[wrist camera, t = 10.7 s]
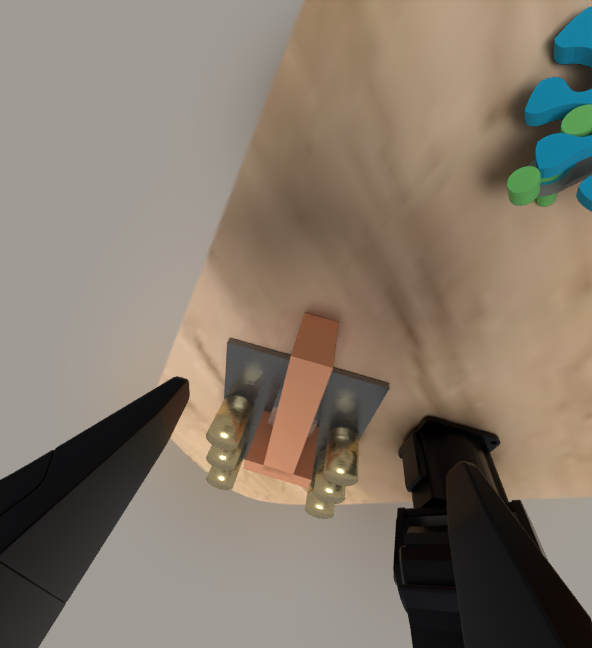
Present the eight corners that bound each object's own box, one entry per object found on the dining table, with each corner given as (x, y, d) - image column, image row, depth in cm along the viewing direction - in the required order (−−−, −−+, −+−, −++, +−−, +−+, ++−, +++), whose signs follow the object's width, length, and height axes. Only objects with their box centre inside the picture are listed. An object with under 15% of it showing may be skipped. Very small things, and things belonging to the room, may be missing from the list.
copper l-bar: (359, 327, 21) (359, 375, 16) (316, 435, 28) (307, 488, 24) (284, 307, 21) (265, 348, 17) (261, 419, 29) (243, 468, 24)
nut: (324, 394, 25) (321, 415, 23) (310, 423, 28) (306, 443, 26) (282, 380, 25) (275, 399, 23) (271, 410, 28) (265, 429, 26)
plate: (388, 383, 23) (393, 430, 20) (332, 480, 34) (328, 523, 30) (230, 337, 24) (205, 375, 20) (223, 447, 35) (206, 484, 31)
